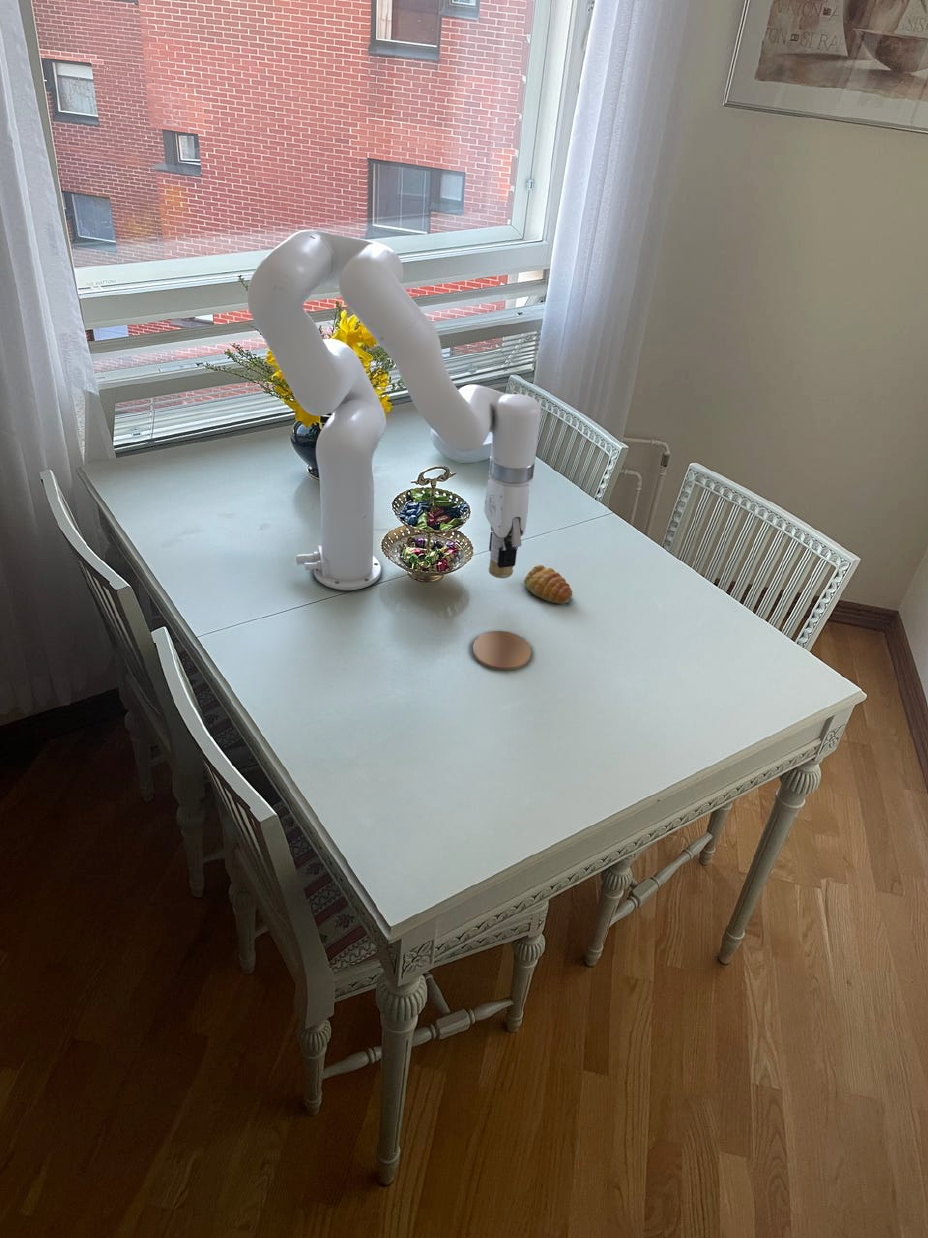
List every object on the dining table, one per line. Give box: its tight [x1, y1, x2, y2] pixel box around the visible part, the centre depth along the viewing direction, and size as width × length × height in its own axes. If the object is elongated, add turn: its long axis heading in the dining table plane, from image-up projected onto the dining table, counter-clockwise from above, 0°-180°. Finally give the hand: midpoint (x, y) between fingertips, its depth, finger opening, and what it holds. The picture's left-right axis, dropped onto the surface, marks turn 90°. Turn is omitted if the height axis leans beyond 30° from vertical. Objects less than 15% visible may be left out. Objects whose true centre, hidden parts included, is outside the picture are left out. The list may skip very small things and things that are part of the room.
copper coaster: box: [472, 630, 532, 671], centre depth 160 cm, size 10×10×1 cm
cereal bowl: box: [430, 427, 493, 464], centre depth 215 cm, size 17×17×7 cm
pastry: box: [523, 564, 573, 605], centre depth 174 cm, size 9×7×4 cm
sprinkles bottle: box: [488, 530, 514, 579], centre depth 166 cm, size 5×5×13 cm
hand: (501, 557), depth 168 cm, fingers closed on sprinkles bottle, 4 cm apart
